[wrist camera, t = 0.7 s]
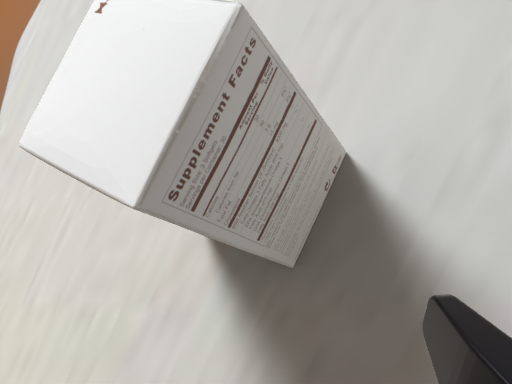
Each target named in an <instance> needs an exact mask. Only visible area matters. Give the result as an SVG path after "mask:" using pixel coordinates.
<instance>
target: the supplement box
mask: <svg viewBox="0 0 512 384" xmlns="http://www.w3.org/2000/svg"><path fill="white" fill-rule="evenodd" d="M19 147H21V148H22V149H24V150H25V151H27V152H28V153H30V154H32V155H33V156H35V157H37V158H39V159H40V160H42V161H44V162H46V163H47V164H49V165H51V166H53V167H55V168H56V169H58V170H60V171H62V172H63V173H65V174H67V175H69V176H71V177H73V178H74V179H76V180H78V181H80V182H82V183H84V184H86V185H87V186H89V187H91V188H93V189H95V190H97V191H99V192H101V193H103V194H104V195H106V196H108V197H110V198H112V199H114V200H116V201H118V202H120V203H122V204H124V205H126V206H128V207H130V208H133V209H135V210H138V211H141V212H143V213H146V214H149V215H151V216H154V217H157V218H159V219H162V220H165V221H167V222H170V223H173V224H175V225H178V226H181V227H183V228H186V229H189V230H191V231H194V232H196V233H199V234H202V235H204V236H207V237H209V238H212V239H214V240H217V241H219V242H222V243H224V244H227V245H230V246H232V247H235V248H238V249H240V250H243V251H246V252H249V253H251V254H254V255H257V256H260V257H262V258H265V259H268V260H271V261H274V262H276V263H279V264H282V265H285V266H287V267H290V268H293V267H294V265H295V262H296V260H297V258H298V256H299V254H300V252H301V250H302V248H303V246H304V244H305V242H306V239H307V237H308V235H309V233H310V231H311V229H312V226H313V224H314V222H315V220H316V218H317V216H318V214H319V211H320V209H321V207H322V205H323V203H324V201H325V198H326V196H327V194H328V192H329V190H330V188H331V186H332V183H333V181H334V179H335V177H336V175H337V172H338V170H339V168H340V166H341V164H342V161H343V159H344V157H345V154H346V151H345V149H344V148H343V146H342V145H341V143H340V142H339V141H338V139H337V138H336V136H335V135H334V133H333V132H332V131H331V129H330V128H329V127H328V125H327V124H326V122H325V121H324V119H323V118H322V117H321V115H320V114H319V112H318V111H317V109H316V108H315V107H314V105H313V104H312V102H311V101H310V100H309V98H308V97H307V95H306V94H305V92H304V91H303V90H302V88H301V87H300V85H299V84H298V83H297V81H296V80H295V78H294V77H293V75H292V74H291V73H290V71H289V70H288V68H287V67H286V65H285V64H284V63H283V61H282V60H281V58H280V57H279V55H278V54H277V53H276V51H275V50H274V48H273V47H272V46H271V44H270V43H269V41H268V40H267V38H266V37H265V36H264V34H263V33H262V31H261V30H260V28H259V27H258V26H257V24H256V23H255V21H254V20H253V19H252V17H251V16H250V15H249V13H248V12H247V10H246V9H245V7H244V6H243V4H241V3H239V2H237V1H231V0H95V1H94V2H93V4H92V6H91V7H90V9H89V11H88V13H87V15H86V16H85V18H84V20H83V22H82V23H81V25H80V27H79V29H78V31H77V33H76V35H75V37H74V39H73V40H72V42H71V44H70V46H69V48H68V50H67V52H66V54H65V55H64V57H63V59H62V61H61V63H60V65H59V67H58V69H57V71H56V73H55V74H54V76H53V78H52V80H51V82H50V84H49V86H48V87H47V89H46V91H45V93H44V95H43V97H42V99H41V101H40V102H39V104H38V106H37V108H36V110H35V112H34V114H33V116H32V117H31V119H30V121H29V123H28V125H27V127H26V129H25V131H24V133H23V135H22V137H21V139H20V142H19Z"/></svg>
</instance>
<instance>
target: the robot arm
mask: <svg viewBox="0 0 512 384" xmlns="http://www.w3.org/2000/svg"><path fill="white" fill-rule="evenodd" d="M423 333H424V337H425V340H426V344H427V347H428V350H429V353H430V356H431V360H432V363H433V366H434V369H435V372H436V376H437V379H438V382H439V384H512V338H511V337H509V336H508V335H506V334H505V333H504V332H502V331H501V330H500V329H498V328H497V327H496V326H494V325H493V324H492V323H490V322H489V321H487V320H486V319H485V318H483V317H482V316H481V315H479V314H478V313H477V312H475V311H474V310H472V309H471V308H470V307H468V306H467V305H466V304H464V303H463V302H462V301H460V300H459V299H458V298H456V297H455V296H452V295H434V296H432V297H431V298H430V299H429V301H428V305H427V309H426V313H425V317H424V322H423Z"/></svg>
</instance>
